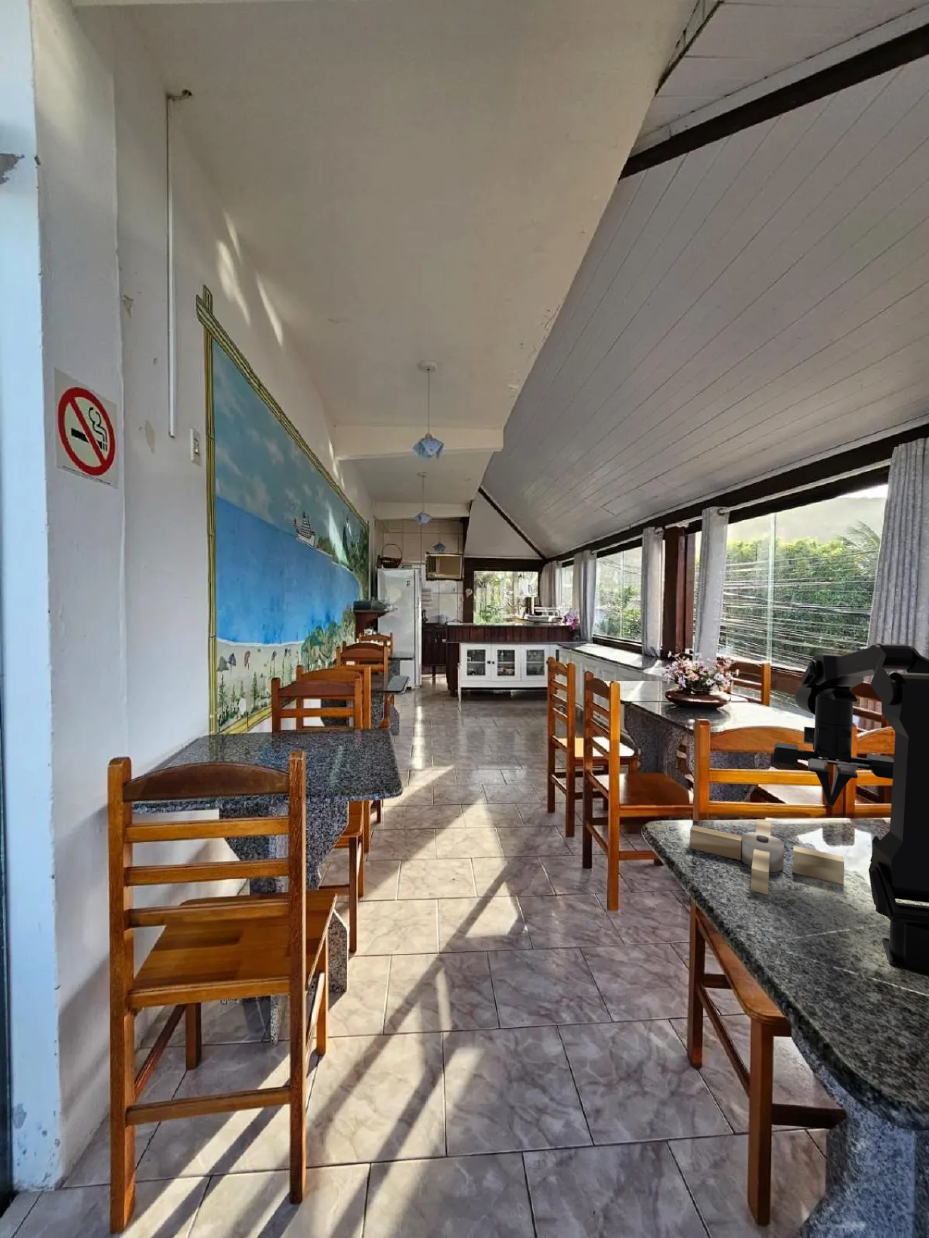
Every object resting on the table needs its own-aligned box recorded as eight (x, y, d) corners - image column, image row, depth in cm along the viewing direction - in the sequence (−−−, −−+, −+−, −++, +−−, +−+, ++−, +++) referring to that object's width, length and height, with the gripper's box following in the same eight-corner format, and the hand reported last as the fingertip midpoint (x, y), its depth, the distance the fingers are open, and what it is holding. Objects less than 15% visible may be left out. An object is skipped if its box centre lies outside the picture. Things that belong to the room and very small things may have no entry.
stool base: (783, 900, 86) (784, 870, 86) (680, 872, 94) (681, 845, 94) (783, 843, 107) (783, 819, 107) (699, 825, 116) (699, 803, 116)
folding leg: (792, 872, 95) (793, 850, 95) (792, 866, 97) (793, 845, 97) (843, 884, 91) (844, 862, 91) (842, 878, 93) (843, 856, 93)
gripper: (889, 721, 99) (886, 802, 99) (775, 709, 108) (773, 783, 109) (901, 732, 89) (898, 822, 89) (774, 718, 99) (772, 799, 99)
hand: (830, 805), depth 97 cm, fingers closed
